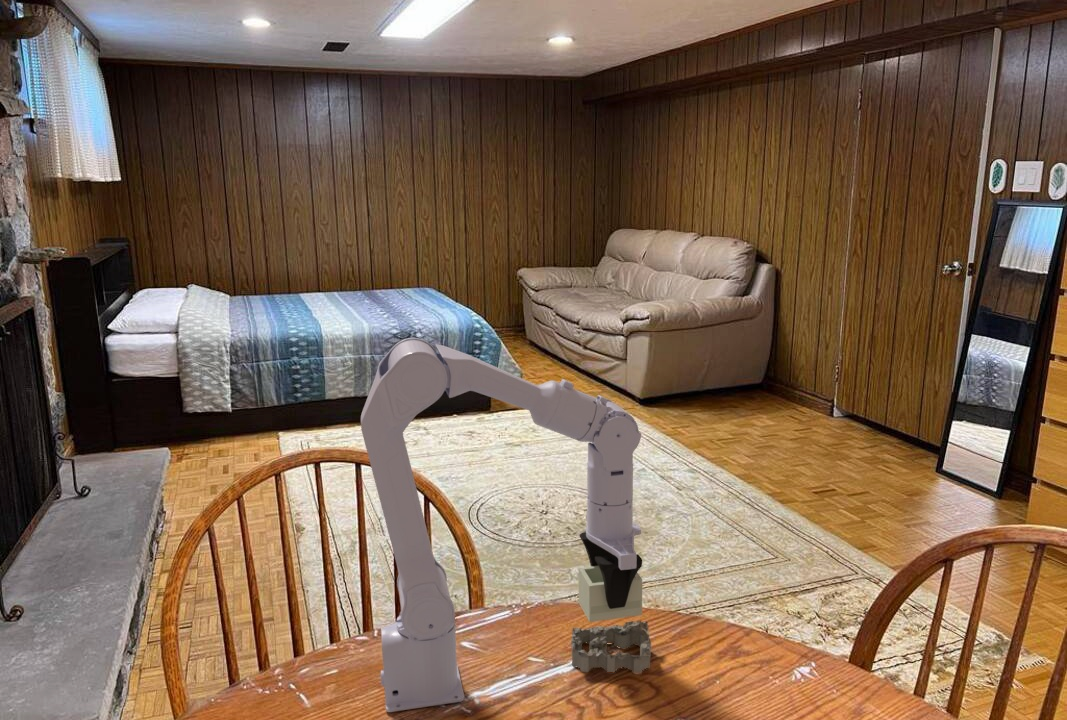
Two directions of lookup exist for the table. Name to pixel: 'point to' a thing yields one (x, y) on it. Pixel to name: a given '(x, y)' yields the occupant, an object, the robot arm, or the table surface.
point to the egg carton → (620, 638)
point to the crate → (595, 597)
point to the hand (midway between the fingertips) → (609, 595)
